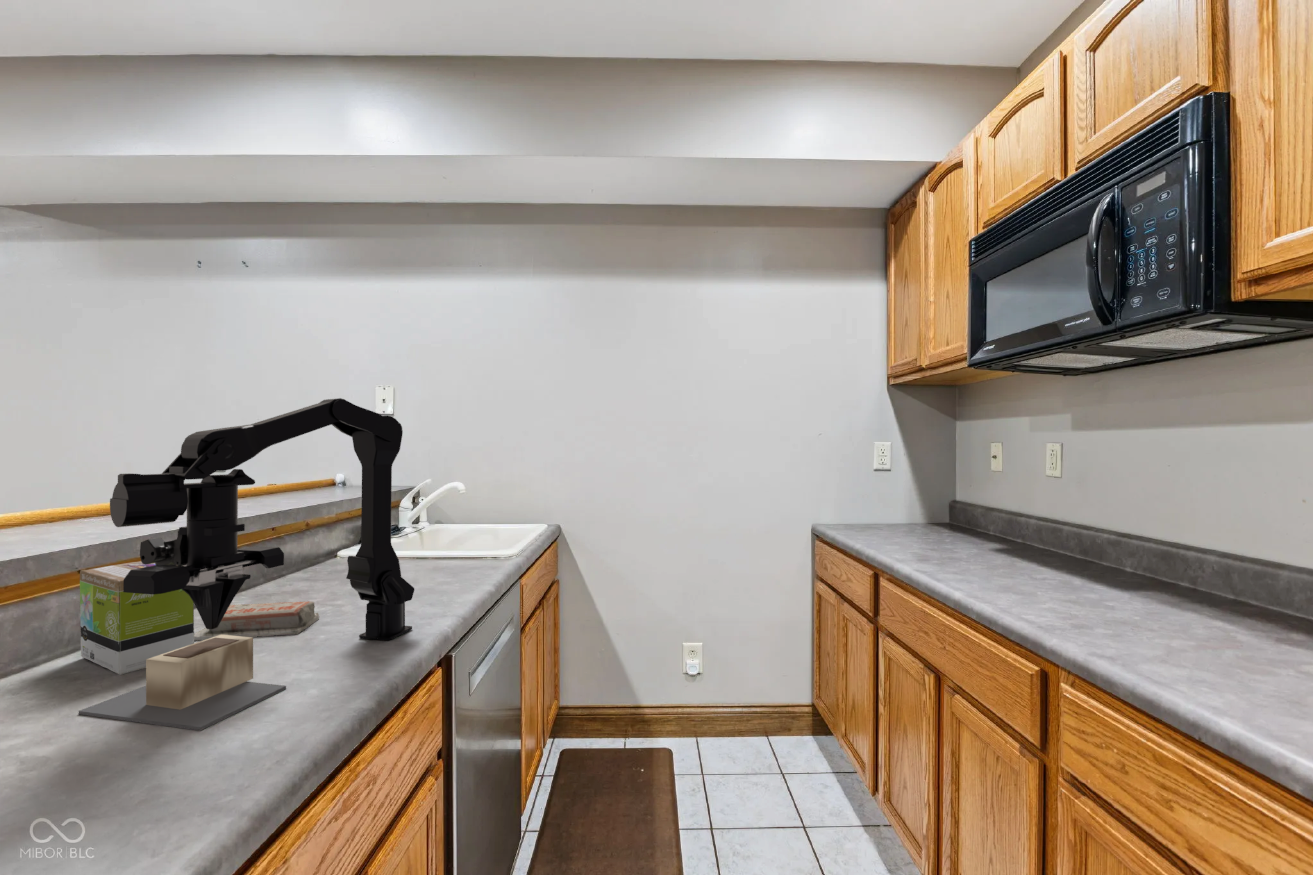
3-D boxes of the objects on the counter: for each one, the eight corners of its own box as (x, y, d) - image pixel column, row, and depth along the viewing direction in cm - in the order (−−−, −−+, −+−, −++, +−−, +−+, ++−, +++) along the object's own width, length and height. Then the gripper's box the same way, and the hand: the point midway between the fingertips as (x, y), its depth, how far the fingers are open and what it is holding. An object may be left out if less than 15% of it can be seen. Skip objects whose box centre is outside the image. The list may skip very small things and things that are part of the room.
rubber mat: (176, 676, 85) (176, 673, 85) (286, 688, 80) (286, 685, 80) (78, 713, 73) (78, 710, 73) (200, 730, 68) (200, 727, 68)
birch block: (221, 633, 84) (146, 658, 75) (253, 636, 83) (180, 662, 73) (221, 674, 84) (146, 704, 75) (253, 678, 83) (180, 709, 73)
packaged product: (320, 596, 113) (298, 610, 103) (321, 620, 113) (298, 636, 103) (220, 601, 110) (187, 616, 100) (220, 626, 110) (187, 644, 100)
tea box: (77, 659, 92) (77, 569, 92) (154, 640, 101) (154, 557, 101) (117, 676, 85) (117, 578, 85) (196, 654, 94) (196, 565, 94)
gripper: (230, 510, 91) (229, 606, 91) (91, 526, 73) (90, 647, 73) (287, 511, 89) (286, 611, 88) (157, 528, 71) (156, 654, 70)
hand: (211, 628), depth 80 cm, fingers closed
